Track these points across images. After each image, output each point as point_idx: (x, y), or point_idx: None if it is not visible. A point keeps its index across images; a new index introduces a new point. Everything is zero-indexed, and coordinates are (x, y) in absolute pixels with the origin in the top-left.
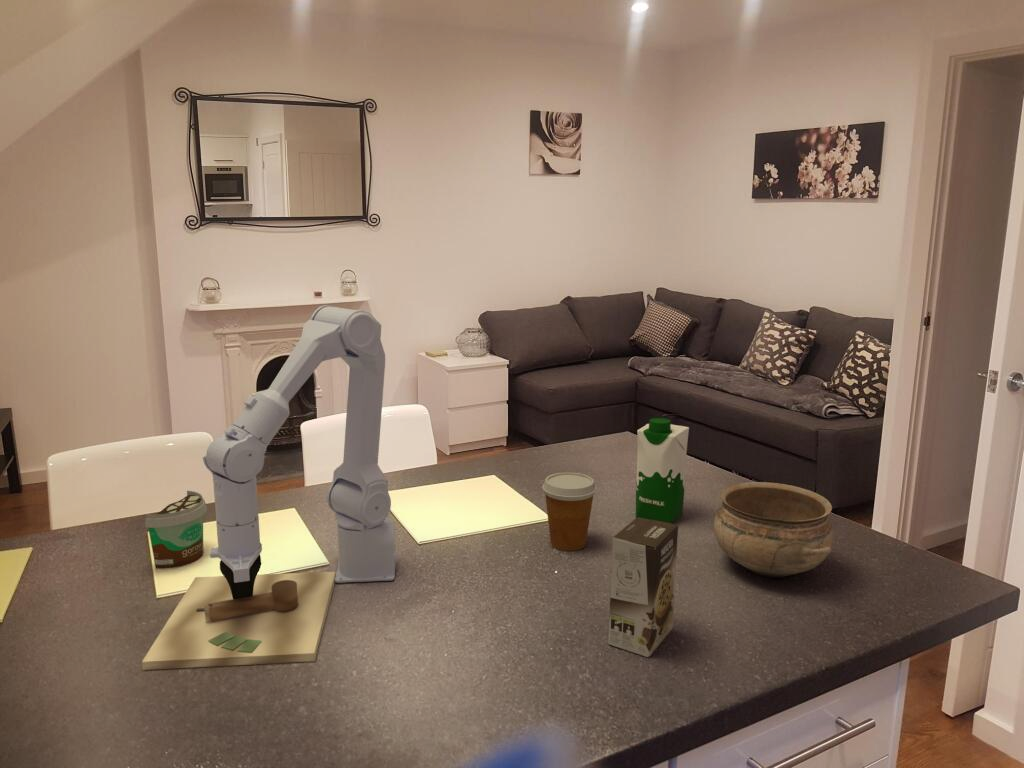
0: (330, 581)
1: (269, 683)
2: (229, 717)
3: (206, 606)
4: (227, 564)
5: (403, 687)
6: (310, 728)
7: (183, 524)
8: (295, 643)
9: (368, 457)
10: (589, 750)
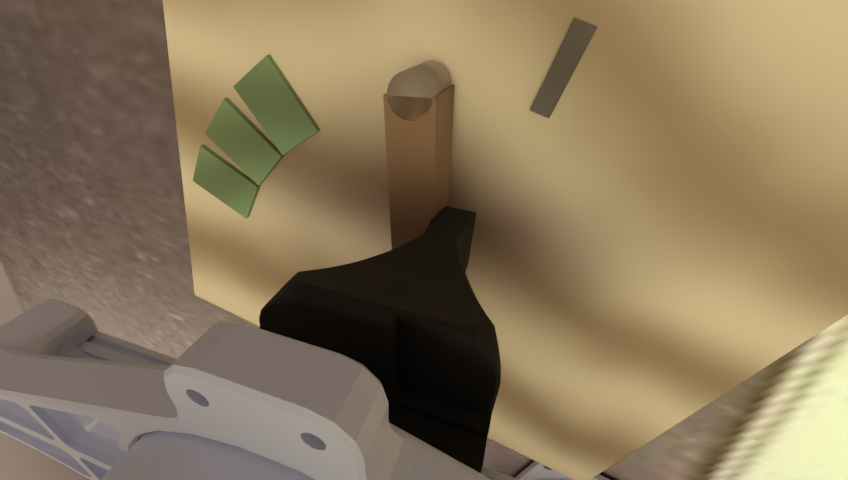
0: (526, 452)
1: (134, 182)
2: (8, 71)
3: (406, 83)
4: (65, 370)
5: (143, 346)
6: (27, 207)
7: None
8: (234, 279)
9: None
10: None
